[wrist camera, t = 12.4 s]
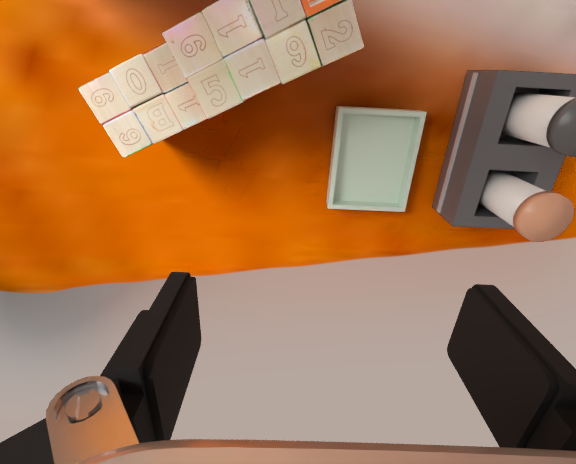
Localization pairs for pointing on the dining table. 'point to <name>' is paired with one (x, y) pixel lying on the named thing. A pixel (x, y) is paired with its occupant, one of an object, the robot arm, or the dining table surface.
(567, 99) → the grey capped white peg
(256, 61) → the stack of blocks
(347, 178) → the tray
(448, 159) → the socket strip
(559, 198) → the plug
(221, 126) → the dining table surface
